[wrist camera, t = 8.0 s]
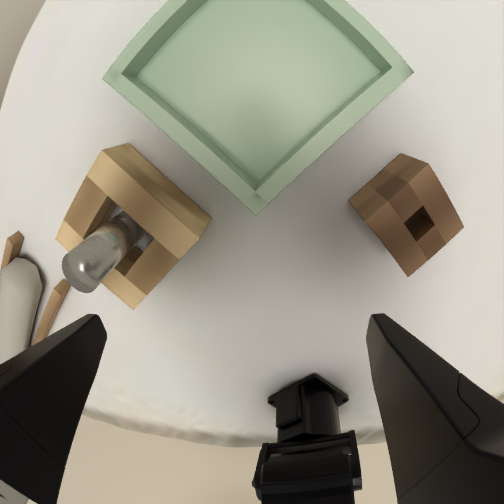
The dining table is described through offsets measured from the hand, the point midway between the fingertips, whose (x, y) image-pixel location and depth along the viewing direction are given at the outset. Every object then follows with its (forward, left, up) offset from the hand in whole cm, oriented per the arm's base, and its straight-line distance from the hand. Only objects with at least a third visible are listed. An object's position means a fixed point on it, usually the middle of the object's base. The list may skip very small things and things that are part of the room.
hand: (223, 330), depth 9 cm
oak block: (+6, +6, -12) cm, 15 cm away
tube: (+12, +31, -12) cm, 35 cm away
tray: (+7, -7, -12) cm, 15 cm away
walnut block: (-6, -8, -12) cm, 15 cm away
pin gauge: (+6, +6, -12) cm, 14 cm away
